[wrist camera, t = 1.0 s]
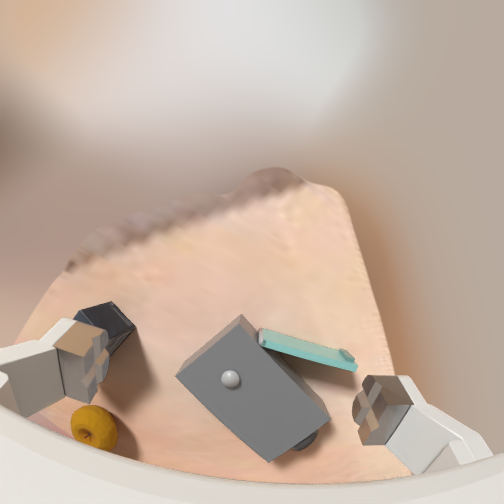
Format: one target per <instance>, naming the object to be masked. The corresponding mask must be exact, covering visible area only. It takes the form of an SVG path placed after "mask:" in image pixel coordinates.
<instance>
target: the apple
mask: <svg viewBox="0 0 504 504" xmlns="http://www.w3.org/2000/svg"><path fill="white" fill-rule="evenodd" d="M71 430H72V434H73V436H74V438H75V439H76V440H77V441H79V442H82V443H84V444H87V445H90V446H93V447H95V448H98V449H101V450H104V451H109V450H111V449H113V448H114V447H115V446H116V443H117V439H118V433H117V427H116V424H115V421H114V419H113V417H112V416H111V414H110V413H109V412H108V411H107V410H106V409H104V408H102V407H100V406H96V405H88V406H83V407H81V408H80V409H78V410H76V411H75V412H74V413H73V414H72V418H71Z"/></svg>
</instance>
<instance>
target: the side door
mask: <svg viewBox="0 0 504 504" xmlns="http://www.w3.org/2000/svg"><path fill="white" fill-rule="evenodd" d="M258 335H259V345H261V346H263V347H267V348H270V349H273V350H276V351H280V352H283V353H286V354H290V355H293V356H297V357H300V358H304V359H307V360H311V361H315V362H318V363H322V364H326V365H329V366H333V367H337V368H341V369H345V370H349V371H353V372H356V370H357V367H358V365H357V364H356V363H355V362H354V360H355V358H354V357H353V356H352V355H351V354H350V353H349V352H348V351H347V350H343V349H340V350H339V351H338V350H334V349H331V348H327V347H324V346H320V345H317V344H313V343H310V342H306V341H303V340H300V339H296V338H293V337H290V336H286V335H283V334H280V333H277V332H274V331H270V330H267V329H264V328H260V329H259V330H258Z"/></svg>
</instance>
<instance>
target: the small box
mask: <svg viewBox="0 0 504 504" xmlns="http://www.w3.org/2000/svg"><path fill="white" fill-rule="evenodd" d="M73 320H76V321H78V322H82V323H85V324H88V325H92V326H95V327H98V328H101V329H104V330H106V331H107V332H108V340H109V342H108V344H107V345H106V347H105V348H106V350H107V352H108V353H109V357H110V356H111V355H112V354H113V353H114V352H115V350H116V349H117V348H118V347H119V346H120V345H121V344H122V343H123V342H124V340H125V339H126V338H127V337H128V336H129V335H130V333H131V332H132V331H133V330H134V329H135V325H134V324H133V323H132V322H130V320H129V319H128V318H127V317H126V316H125V315H124V314H123V313H122V312H121V311H120V310H119V308H118V307H117V306H116V305H115V304H114V303H113V302H112V301H110V302H107V303H104V304H100V305H97V306H93V307H90V308H86V309H82V310H79V311H78V313H77V314H76V315H75V317H74V318H73Z"/></svg>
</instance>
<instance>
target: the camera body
mask: <svg viewBox="0 0 504 504" xmlns="http://www.w3.org/2000/svg"><path fill="white" fill-rule="evenodd" d="M175 377H176V378H177V379H178V380H179V381H180V382H181V383H182V384H183V385H184V386H185V387H186V388H187V389H188V390H189V391H190V392H191V393H192V394H193V395H194V396H195V397H196V398H197V399H198V400H199V401H200V402H201V403H202V404H203V405H204V406H205V407H206V408H207V409H208V410H209V411H210V412H211V413H212V414H213V415H214V416H215V417H217V418H218V419H219V420H220V421H221V422H222V423H223V424H224V425H225V426H226V427H227V428H228V429H230V430H231V431H232V432H233V433H234V434H235V435H236V436H237V437H239V438H240V439H241V440H242V441H243V442H244V443H245V444H247V445H248V446H249V447H250V448H251V449H252V450H254V451H255V452H256V453H257V454H258V455H260V456H261V457H262V458H263V459H265V460H266V461H267V462H268V463H269V462H271V461H272V460H274V459H275V458H277V457H278V456H280V455H281V454H283V453H284V452H286V451H287V450H289V449H290V448H291V449H292V450H293V451H300V450H302V449H304V448H306V447H307V446H309V445H310V444H311V443H312V442H313V441H314V439H315V438H316V436H317V434H318V429H319V428H320V427H321V426H323V425H324V424H325V423H327V422H328V421H329V420H330V419H331V417H330V415H329V413H328V411H327V409H326V407H325V404H324V402H323V400H322V399H321V398H320V397H319V396H318V395H317V394H316V393H315V392H314V391H313V390H312V389H311V388H310V387H309V386H308V385H307V384H306V383H305V381H304V380H303V379H302V378H301V377H300V376H299V375H298V374H297V373H296V372H295V371H294V370H293V369H292V368H291V367H290V366H289V365H288V364H287V363H286V362H285V361H284V360H283V358H282V357H281V356H280V355H279V354H278V353H277V352H276V351H275V350H273V349H270V348H267V347H263V346H261V345H259V335H258V332H257V331H256V330H255V328H254V327H253V326H252V325H251V324H250V323H249V322H248V321H247V320H246V319H245V317H244V316H243V315H242V314H241V315H240V316H238V317H237V318H236V319H235V320H234V321H232V322H231V323H230V324H229V325H228V326H227V327H225V328H224V329H223V330H222V331H221V332H220V333H218V334H217V335H216V336H215V337H214V338H212V339H211V340H210V341H209V342H208V343H206V344H205V345H204V346H203V347H202V348H200V349H199V350H198V351H197V352H196V353H194V354H193V355H192V356H191V357H190V358H188V359H187V360H186V361H185V362H184V364H183V365H182V367H181V368H180V370H179V371H178V373H177V374H176V376H175Z"/></svg>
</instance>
